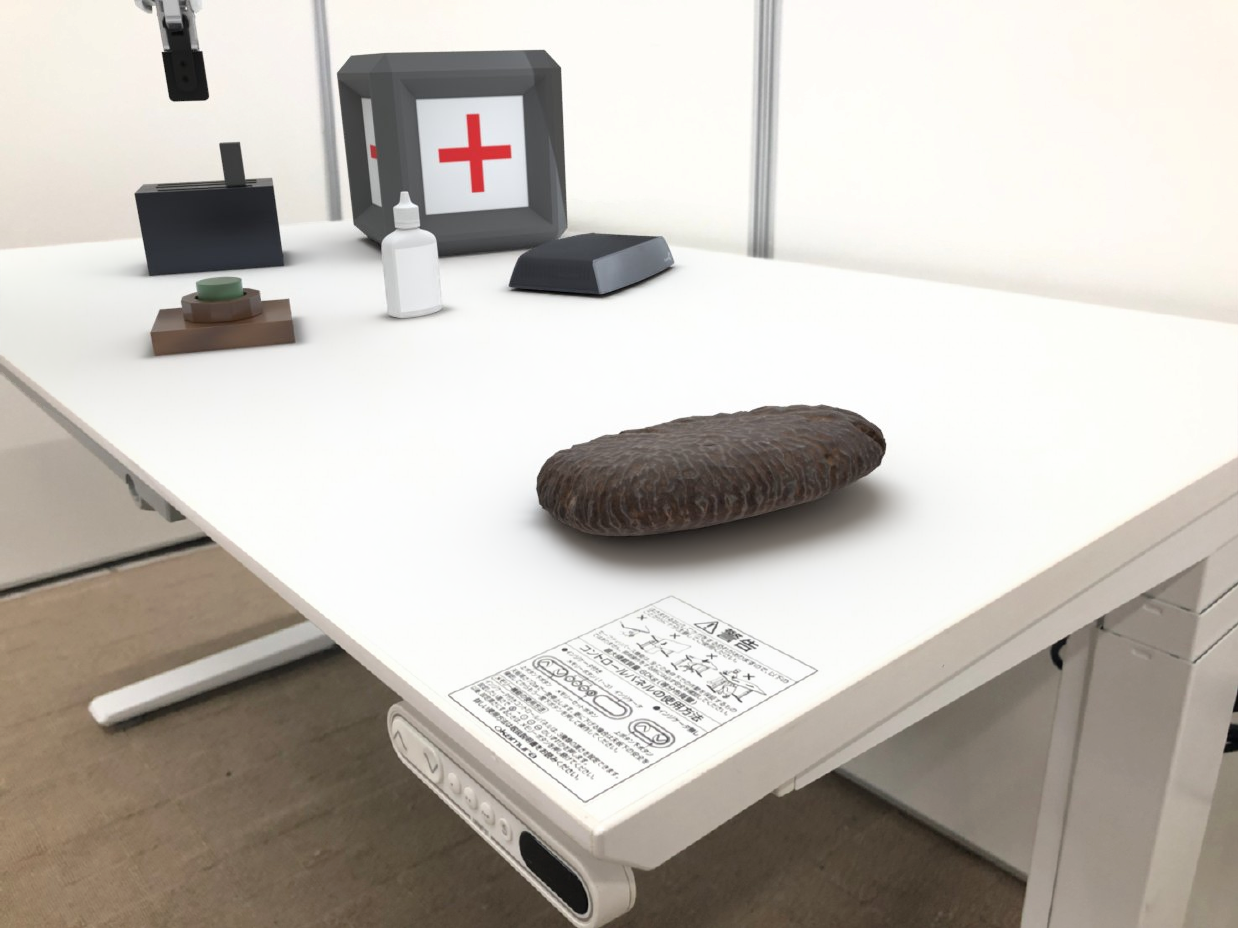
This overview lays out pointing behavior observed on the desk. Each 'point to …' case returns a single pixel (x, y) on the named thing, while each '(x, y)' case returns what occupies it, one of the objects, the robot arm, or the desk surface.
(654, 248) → the hard drive
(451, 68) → the first aid kit
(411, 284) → the eye dropper bottle
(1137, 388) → the desk surface
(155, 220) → the toaster
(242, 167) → the toaster slider
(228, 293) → the button
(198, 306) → the brown button base
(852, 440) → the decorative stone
